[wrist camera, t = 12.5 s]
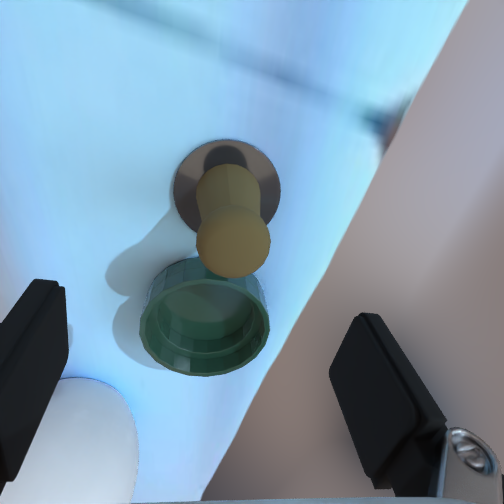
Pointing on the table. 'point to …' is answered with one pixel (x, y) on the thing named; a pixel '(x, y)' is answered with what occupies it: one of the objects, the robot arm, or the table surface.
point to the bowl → (203, 320)
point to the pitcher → (80, 449)
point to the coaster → (218, 155)
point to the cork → (231, 222)
